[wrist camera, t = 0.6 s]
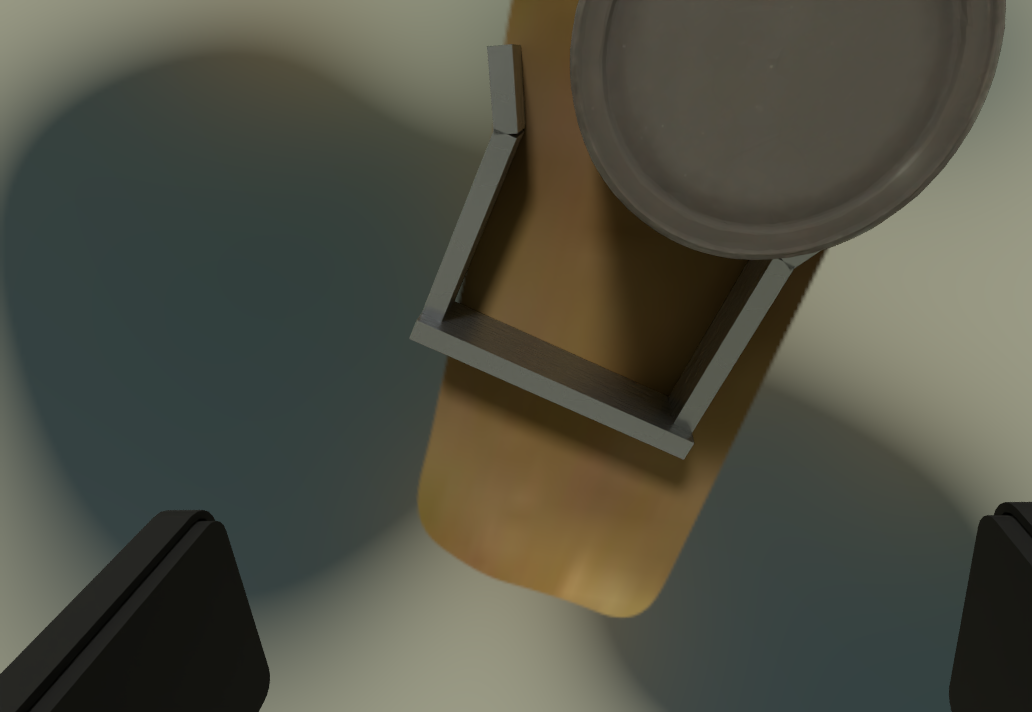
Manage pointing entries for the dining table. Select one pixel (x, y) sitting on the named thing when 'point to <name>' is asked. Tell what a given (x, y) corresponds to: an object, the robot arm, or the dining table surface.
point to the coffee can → (777, 111)
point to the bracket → (556, 368)
